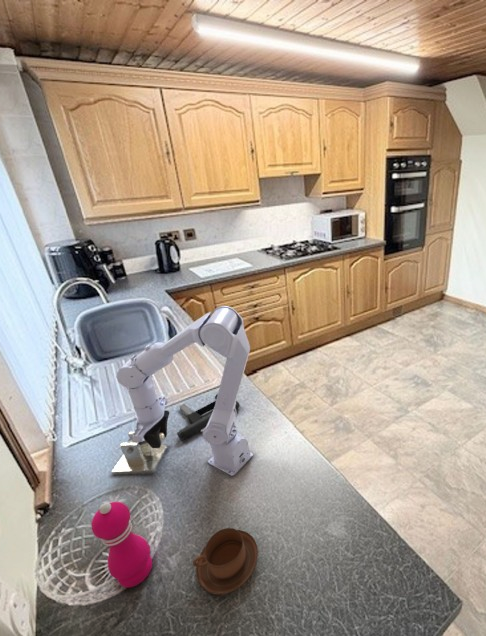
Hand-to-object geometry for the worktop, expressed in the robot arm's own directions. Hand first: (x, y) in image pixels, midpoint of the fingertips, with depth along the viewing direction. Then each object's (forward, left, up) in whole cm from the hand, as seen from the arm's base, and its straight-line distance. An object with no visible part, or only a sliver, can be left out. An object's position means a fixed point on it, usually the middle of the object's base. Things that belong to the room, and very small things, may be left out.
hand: (159, 441), depth 93 cm
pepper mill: (-19, +21, -7) cm, 29 cm away
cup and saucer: (-35, +11, -7) cm, 38 cm away
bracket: (+6, +3, -7) cm, 10 cm away
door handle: (+5, -18, -7) cm, 20 cm away
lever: (+2, +1, -1) cm, 3 cm away
